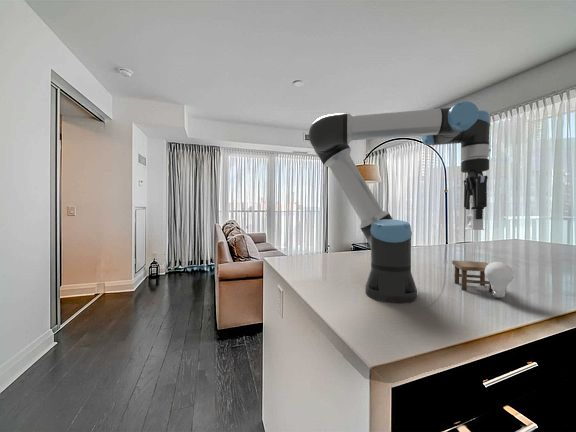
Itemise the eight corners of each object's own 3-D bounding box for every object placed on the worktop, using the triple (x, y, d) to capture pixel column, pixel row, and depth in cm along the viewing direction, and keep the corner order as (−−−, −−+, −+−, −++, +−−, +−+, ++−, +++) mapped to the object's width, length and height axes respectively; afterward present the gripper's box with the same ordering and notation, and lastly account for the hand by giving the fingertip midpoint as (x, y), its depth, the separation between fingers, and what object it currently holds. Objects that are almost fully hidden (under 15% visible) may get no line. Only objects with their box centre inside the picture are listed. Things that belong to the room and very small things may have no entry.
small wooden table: (461, 290, 81) (461, 266, 81) (452, 282, 90) (452, 260, 90) (498, 293, 78) (498, 268, 77) (485, 284, 87) (485, 262, 87)
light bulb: (508, 296, 75) (508, 260, 75) (517, 304, 69) (518, 265, 69) (481, 293, 78) (481, 259, 78) (488, 300, 72) (488, 263, 72)
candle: (462, 228, 87) (463, 194, 87) (481, 229, 85) (481, 194, 85) (467, 229, 82) (467, 193, 82) (486, 230, 80) (487, 193, 80)
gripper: (501, 152, 73) (500, 231, 74) (477, 163, 90) (477, 227, 91) (471, 155, 76) (470, 230, 76) (453, 165, 93) (453, 226, 93)
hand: (474, 228), depth 84 cm, fingers closed on candle, 5 cm apart
